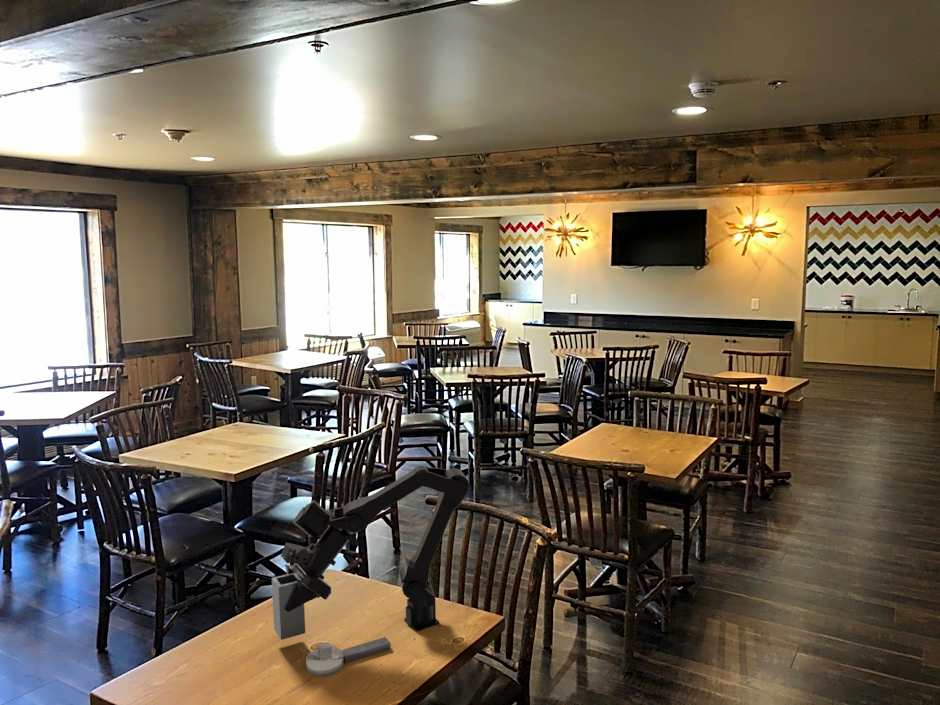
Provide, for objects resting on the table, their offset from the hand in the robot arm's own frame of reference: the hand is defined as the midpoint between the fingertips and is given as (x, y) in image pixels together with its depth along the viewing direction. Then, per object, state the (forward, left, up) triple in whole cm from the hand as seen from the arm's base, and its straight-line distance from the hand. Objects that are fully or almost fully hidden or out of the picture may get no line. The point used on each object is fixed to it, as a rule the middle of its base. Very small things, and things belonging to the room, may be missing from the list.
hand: (282, 605), depth 162 cm
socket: (-1, 0, -7) cm, 7 cm away
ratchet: (-10, +13, -10) cm, 19 cm away
